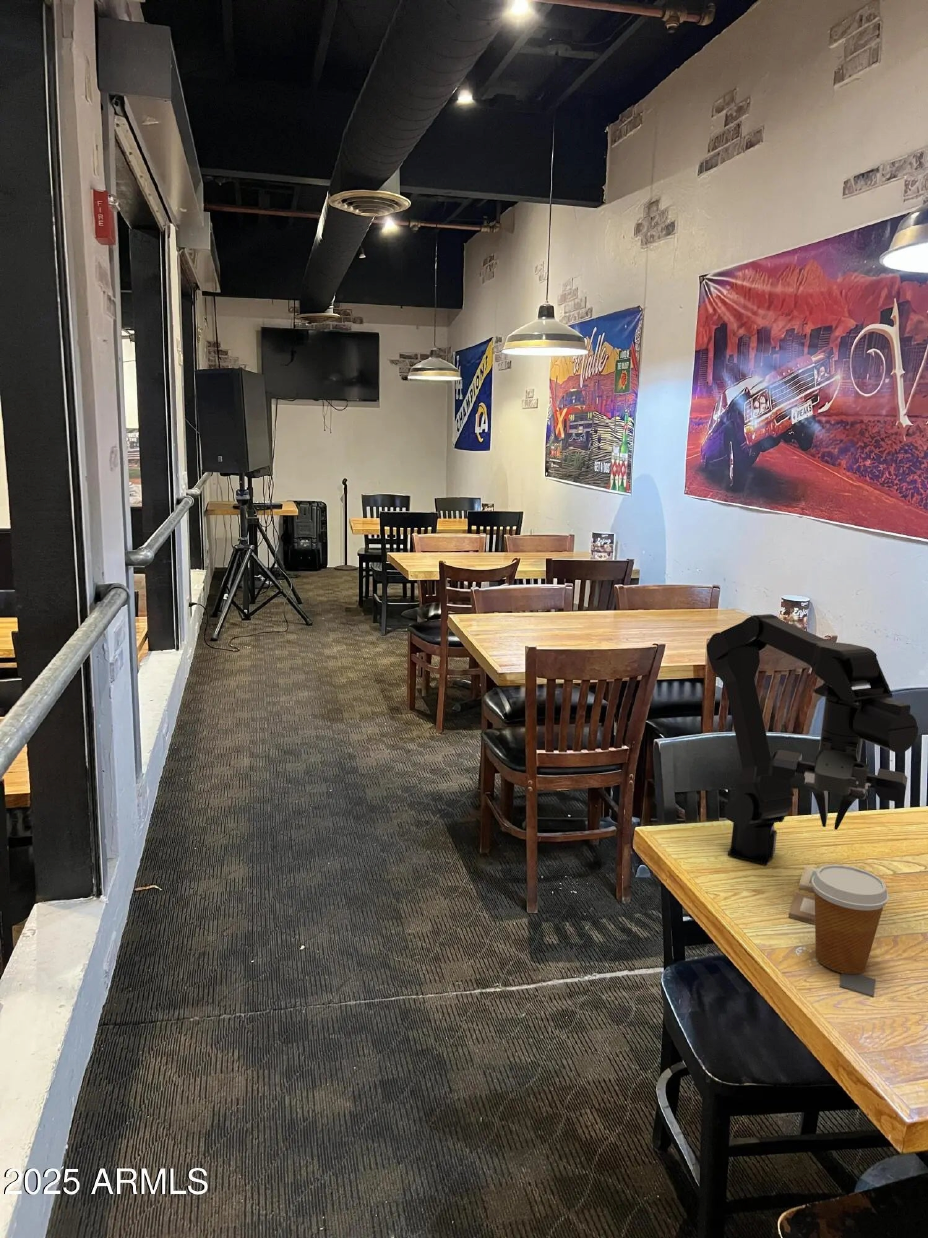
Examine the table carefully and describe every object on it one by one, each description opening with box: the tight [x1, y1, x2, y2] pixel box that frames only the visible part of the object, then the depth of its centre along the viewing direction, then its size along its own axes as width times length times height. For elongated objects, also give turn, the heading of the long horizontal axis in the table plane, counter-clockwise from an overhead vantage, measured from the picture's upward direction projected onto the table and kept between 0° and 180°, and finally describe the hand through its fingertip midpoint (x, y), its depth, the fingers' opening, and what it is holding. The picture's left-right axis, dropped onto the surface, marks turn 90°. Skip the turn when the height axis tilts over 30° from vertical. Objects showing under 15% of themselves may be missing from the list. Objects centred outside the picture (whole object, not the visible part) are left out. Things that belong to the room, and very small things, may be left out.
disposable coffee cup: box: [812, 864, 890, 974], centre depth 114 cm, size 10×10×12 cm
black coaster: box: [839, 973, 877, 998], centre depth 110 cm, size 4×4×1 cm
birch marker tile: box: [798, 865, 818, 893], centre depth 135 cm, size 7×7×1 cm
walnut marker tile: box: [787, 891, 815, 926], centre depth 127 cm, size 7×7×1 cm
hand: (830, 827), depth 129 cm, fingers closed
